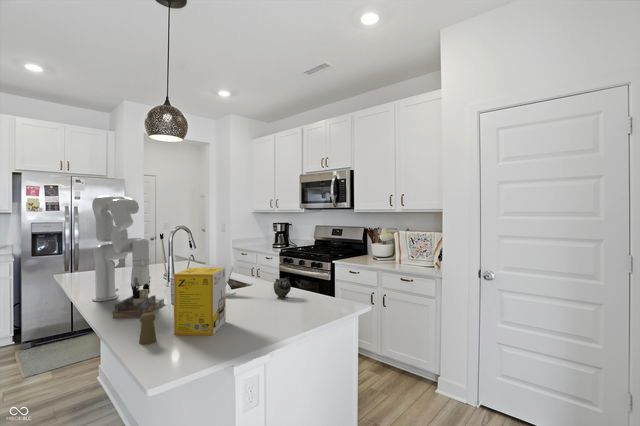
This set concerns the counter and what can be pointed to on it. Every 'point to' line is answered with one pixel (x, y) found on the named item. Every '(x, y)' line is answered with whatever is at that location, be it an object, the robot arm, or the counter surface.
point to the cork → (147, 329)
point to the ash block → (141, 296)
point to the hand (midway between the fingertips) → (141, 296)
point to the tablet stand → (227, 274)
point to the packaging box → (199, 301)
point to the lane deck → (136, 307)
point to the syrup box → (172, 289)
